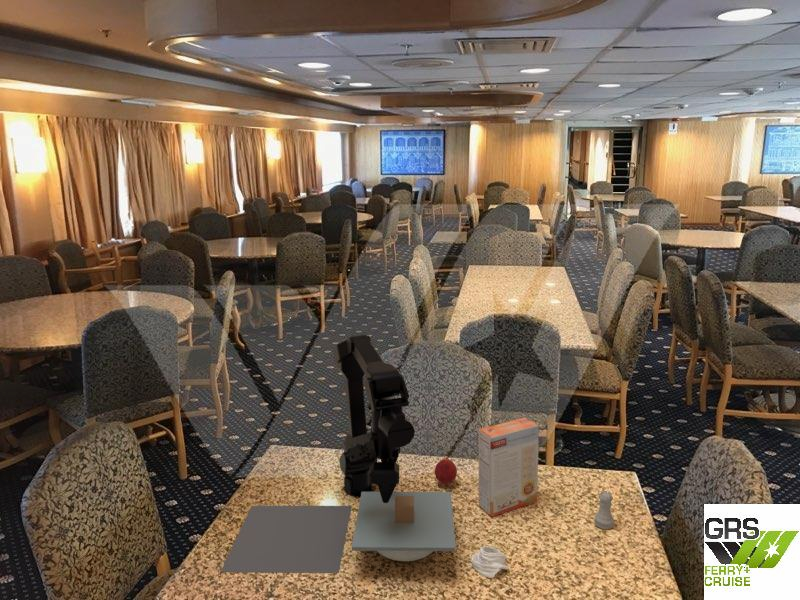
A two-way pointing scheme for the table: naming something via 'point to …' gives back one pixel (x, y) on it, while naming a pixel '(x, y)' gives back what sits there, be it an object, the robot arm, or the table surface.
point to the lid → (405, 522)
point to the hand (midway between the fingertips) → (386, 490)
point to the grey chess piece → (604, 511)
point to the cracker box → (508, 465)
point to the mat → (290, 540)
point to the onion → (445, 471)
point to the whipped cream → (489, 561)
